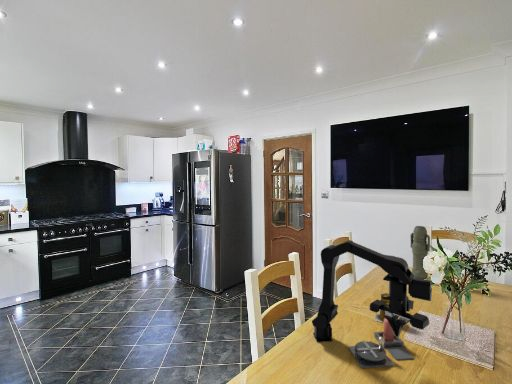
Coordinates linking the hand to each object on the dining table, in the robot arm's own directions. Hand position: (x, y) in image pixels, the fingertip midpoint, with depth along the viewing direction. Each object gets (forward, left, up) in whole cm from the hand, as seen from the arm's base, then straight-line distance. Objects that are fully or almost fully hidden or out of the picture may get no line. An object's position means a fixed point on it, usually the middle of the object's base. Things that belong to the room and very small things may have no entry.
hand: (397, 336), depth 102 cm
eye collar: (+4, +13, -10) cm, 17 cm away
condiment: (+12, +31, -11) cm, 35 cm away
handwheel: (-8, +5, -9) cm, 13 cm away
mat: (+4, +5, -10) cm, 12 cm away
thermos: (+61, +77, -10) cm, 99 cm away
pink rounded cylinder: (+4, +13, -10) cm, 17 cm away
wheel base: (-8, +5, -10) cm, 14 cm away
